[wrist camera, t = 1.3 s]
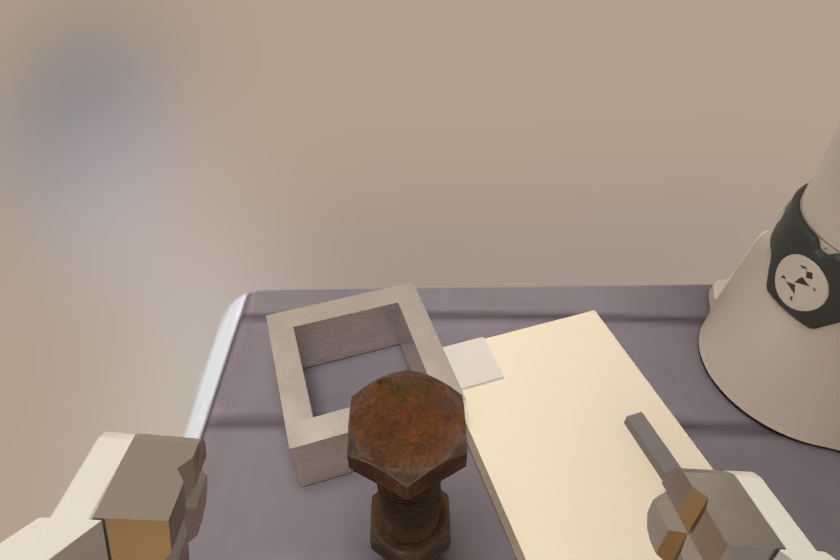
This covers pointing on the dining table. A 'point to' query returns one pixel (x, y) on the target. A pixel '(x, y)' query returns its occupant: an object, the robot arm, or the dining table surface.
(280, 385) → the hollow square frame
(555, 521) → the cabinet door
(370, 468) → the bolt
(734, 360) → the robot arm
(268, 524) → the dining table surface
